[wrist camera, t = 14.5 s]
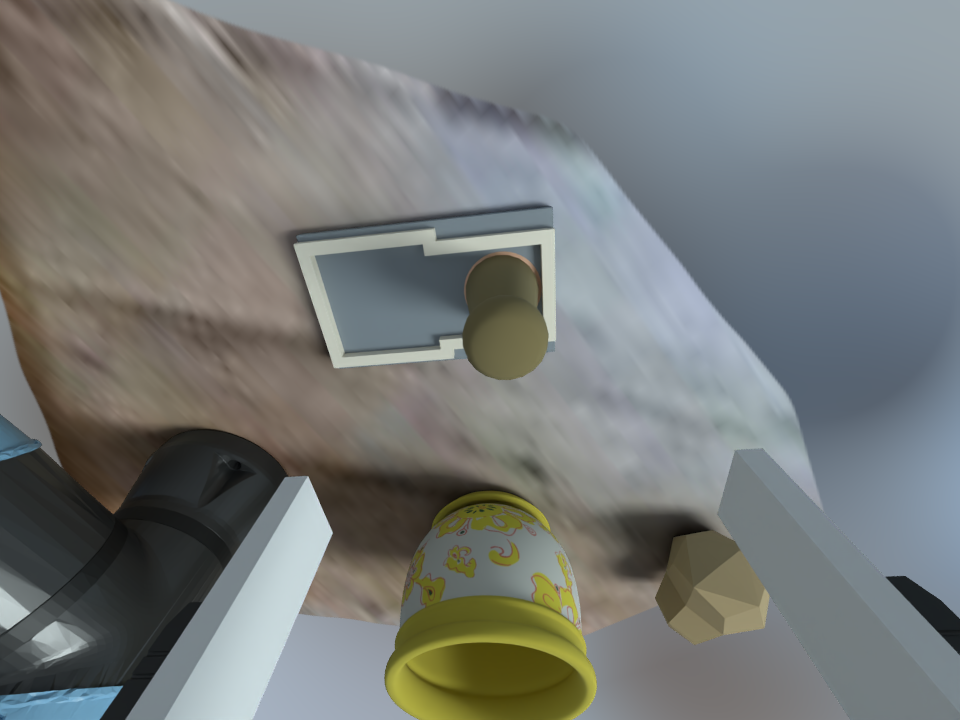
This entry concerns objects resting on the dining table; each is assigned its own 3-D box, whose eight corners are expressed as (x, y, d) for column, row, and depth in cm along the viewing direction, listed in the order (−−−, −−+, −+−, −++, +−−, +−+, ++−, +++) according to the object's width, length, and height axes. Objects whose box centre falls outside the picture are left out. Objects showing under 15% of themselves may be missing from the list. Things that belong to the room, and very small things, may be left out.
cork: (452, 275, 30) (432, 329, 20) (520, 240, 29) (533, 280, 19) (486, 336, 33) (482, 409, 23) (550, 306, 31) (575, 371, 21)
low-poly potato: (707, 490, 42) (633, 554, 40) (817, 577, 34) (734, 664, 32) (691, 538, 52) (631, 592, 50) (773, 614, 45) (707, 682, 42)
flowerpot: (569, 564, 49) (602, 733, 34) (437, 576, 51) (415, 740, 36) (556, 462, 41) (592, 628, 26) (400, 481, 43) (352, 645, 28)
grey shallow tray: (342, 363, 36) (335, 372, 34) (301, 233, 30) (291, 237, 28) (553, 346, 34) (556, 355, 32) (550, 206, 28) (554, 208, 27)
